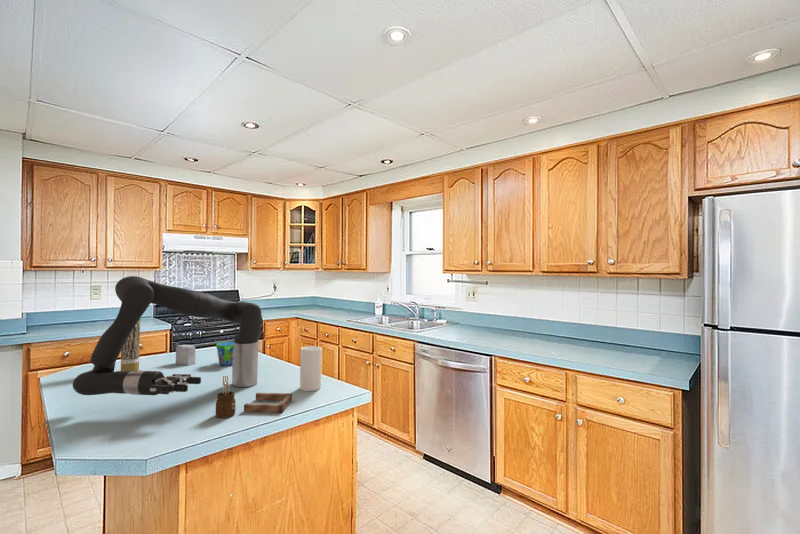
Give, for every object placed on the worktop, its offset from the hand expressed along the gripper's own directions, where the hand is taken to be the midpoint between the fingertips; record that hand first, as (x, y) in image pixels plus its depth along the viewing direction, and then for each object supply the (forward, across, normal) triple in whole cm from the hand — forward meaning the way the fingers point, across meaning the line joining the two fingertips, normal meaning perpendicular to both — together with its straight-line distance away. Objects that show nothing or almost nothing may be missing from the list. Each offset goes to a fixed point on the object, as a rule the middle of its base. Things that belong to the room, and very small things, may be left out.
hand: (194, 384), depth 132 cm
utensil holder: (+10, 0, +10) cm, 14 cm away
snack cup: (-15, +65, +10) cm, 67 cm away
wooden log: (-52, +49, +10) cm, 72 cm away
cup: (+32, +31, +10) cm, 45 cm away
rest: (+22, +10, +10) cm, 25 cm away
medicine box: (-35, +64, +10) cm, 74 cm away
